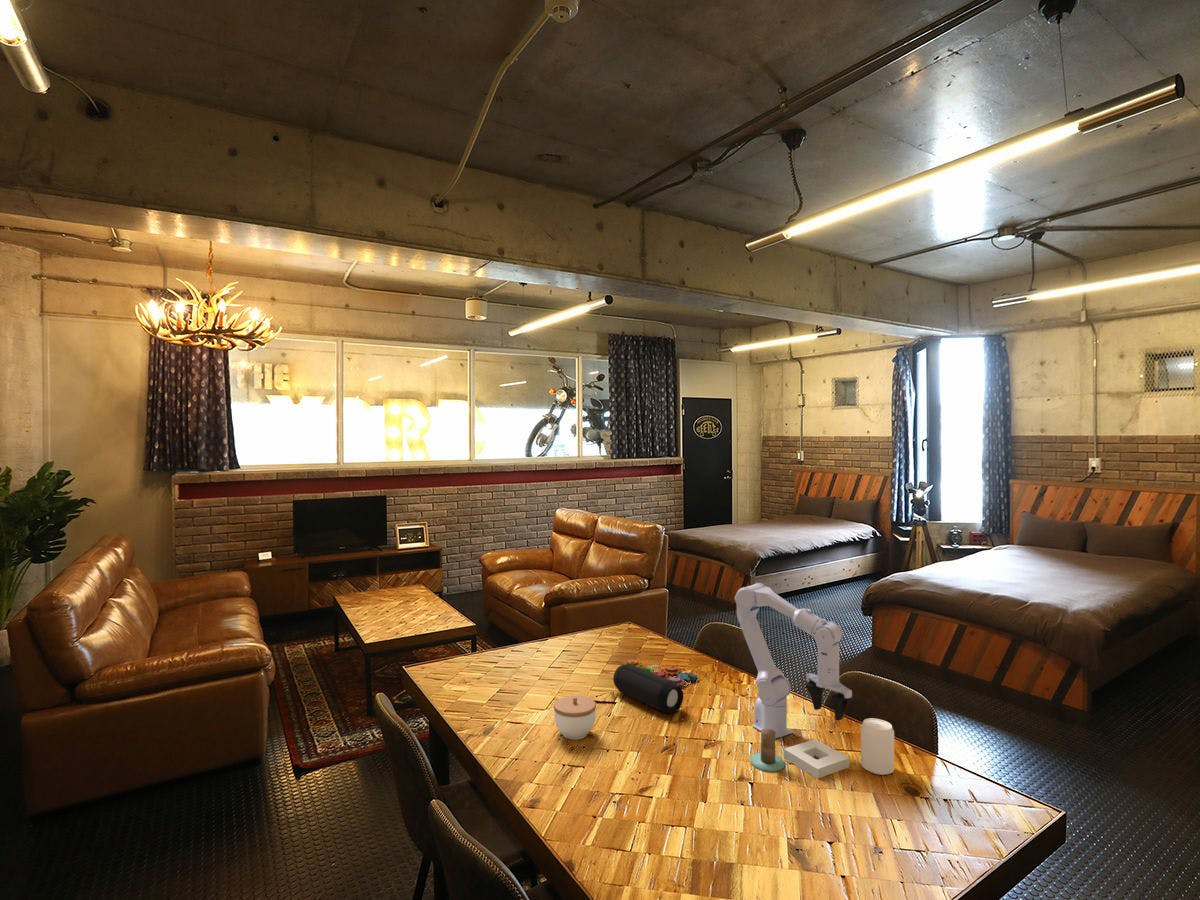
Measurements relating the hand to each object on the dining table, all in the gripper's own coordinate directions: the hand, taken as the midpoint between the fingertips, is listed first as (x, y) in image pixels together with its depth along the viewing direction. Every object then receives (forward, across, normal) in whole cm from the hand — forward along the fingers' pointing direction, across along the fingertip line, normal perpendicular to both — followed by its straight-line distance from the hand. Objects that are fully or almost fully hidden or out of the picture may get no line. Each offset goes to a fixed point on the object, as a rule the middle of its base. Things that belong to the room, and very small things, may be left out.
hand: (828, 714), depth 174 cm
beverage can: (+11, +13, +4) cm, 17 cm away
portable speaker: (+11, -52, -28) cm, 60 cm away
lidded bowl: (+11, -43, -59) cm, 74 cm away
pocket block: (+10, +3, -8) cm, 13 cm away
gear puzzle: (+11, -72, -11) cm, 73 cm away
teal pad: (+10, -3, -20) cm, 23 cm away
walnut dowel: (+10, -3, -20) cm, 22 cm away
